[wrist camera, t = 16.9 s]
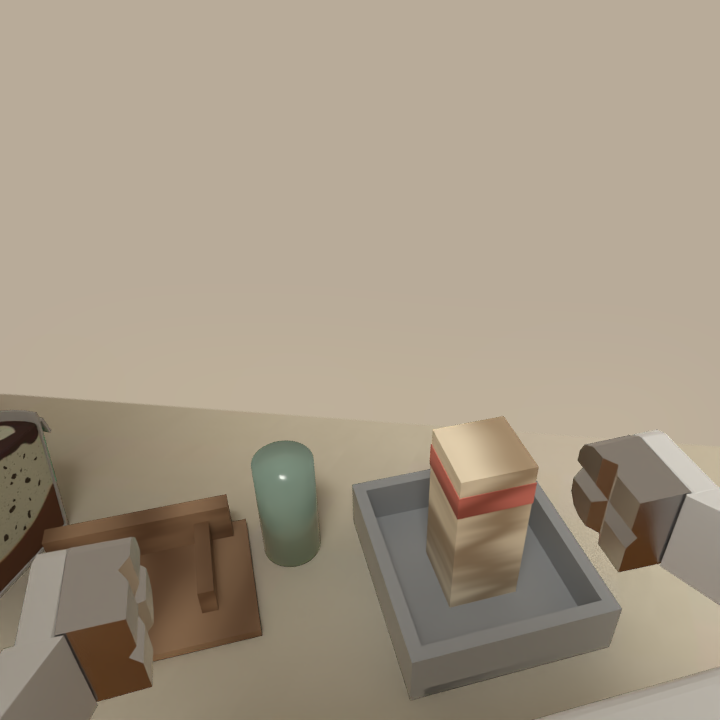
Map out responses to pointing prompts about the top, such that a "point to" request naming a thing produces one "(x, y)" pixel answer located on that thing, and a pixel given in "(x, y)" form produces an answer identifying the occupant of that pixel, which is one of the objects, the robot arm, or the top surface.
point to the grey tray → (484, 617)
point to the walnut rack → (184, 571)
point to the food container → (25, 493)
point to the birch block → (478, 508)
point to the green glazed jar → (287, 502)
